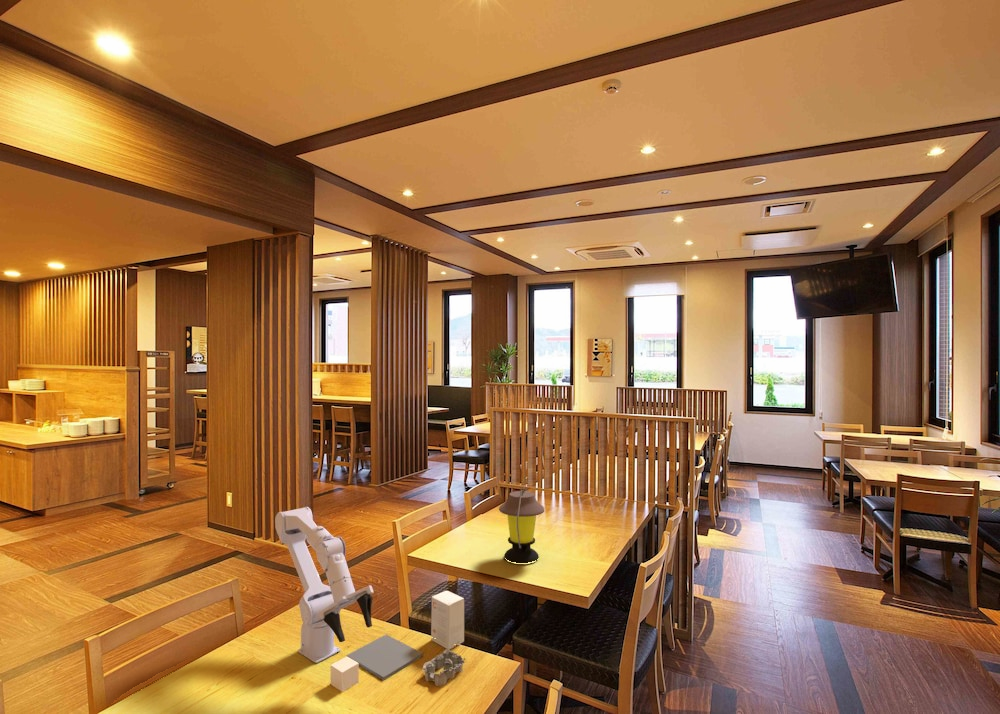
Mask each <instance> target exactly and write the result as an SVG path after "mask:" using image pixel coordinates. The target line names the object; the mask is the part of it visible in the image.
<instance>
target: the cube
mask: <svg viewBox="0 0 1000 714" xmlns="http://www.w3.org/2000/svg"><path fill="white" fill-rule="evenodd" d="M359 669H360V666H359V663H358V662H356V661H354V660H353V659H351V658H349V657H348V656H347V655H346V656H345V657H343V658H341V659H340V660H337V661H336V662H333V663H332V664H330V685H331V686H333V687H334V688H336V689H337V690H338V691H340V692H344V691H346V690H348V689H350V688H351V687H353V686H355V685H357V684H359V681H360V680H359V677H360V675H359V674H360V670H359Z"/></svg>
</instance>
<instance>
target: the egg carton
mask: <svg viewBox="0 0 1000 714" xmlns="http://www.w3.org/2000/svg"><path fill="white" fill-rule="evenodd" d="M465 661H466V658H463V657H462V656H461V655H459V654H458V653H455V652H454V651H451V649H450V650H449V649H448V648H447V649H446V648H445V649H444V651H442V653H439V655H436V656H435V657H434V658H432V659H431V660H429V661H426V662H424V664H423V667H422V669H421V671H423V672H424V677H425V681H426V682H431V681H433V682H434V685H435V686H436V687H439V685H440V686H445V685H447V684H446V683H447V682H448V680H450V678H451V679H452V680H453V679H454V678H455V675H456V674H457V673H460V672H461V673H462V672H463V670H464V669H463V666H464V664H465ZM442 668H443V670H441V671H440V672H439V673H435V672H436V671H435V670H436V669H439V670H440V669H442Z"/></svg>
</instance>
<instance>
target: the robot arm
mask: <svg viewBox="0 0 1000 714" xmlns="http://www.w3.org/2000/svg"><path fill="white" fill-rule="evenodd" d="M274 519H275V520H274V523H275V526H274V527H275V530H276V531H275V532H276V533H277V536H278V538H279V540H280V543H281V544H284V545H286V546H287V549H288V551H289V554H290V557H291V560H292V562H293V565H294V568H295V569H296V572H297V574H298V577H299V580H300V583H301V584H302V585H301V586H302V588H303V590H304V593H303V595H302V596H301V598H300V600H299V604H298V607H299V610H300V618H301V621H302V625H301V628H300V648H299V649H298V650H297V652H298V653H299V654H301V655H302V656H304V657H305V658H307V659H308V660H310V661H312V662H313V663H314V664H318V663H320V662H322V661H323V660H325V659H328V658H330V657H331V656H333V655H336V654H337V652H338V653H339V652H341V648H340V647H337V646H336V645H335V636H336V638H337V640H338V642H339V643H343V642H345V641H346V638H345V635H344V634H345V633H344V632H343V629H342V624H341V617H340V616H341V615H340V613H341V610H343V609H345V608H347V607H349V606H350V605H352V604H354V603H355V602H357V604H358V606H359V608H360V611H361V613H362V616H363V621H364V623H365V626H366V628H372V626H373V621H372V604H373V596H371V595H373V594H374V593H375V592H374V589H373V586H372V585H370V584H369V585H367V586H365V587H363V588H360V589H358V590H356V588H355V587H354V582H353V580H352V577H351V573H350V570H349V567H348V563H347V561H346V560H347V559H346V558H345V556H346V554H347V553H346V552H347V547H346V543H345V540H344V539H343V538H342V536H335V537H334V535H332V534H331V533H330V532H329V531H328V530H327V529H326V528H325V527H323V526H322V525H317V524H316V522H315V521H314V518H313V512H312V509H311V508H310V507H308V506H304V507H301V508H296V509H295V508H294V509H292V510H286V511H279V512H277V513H276V515H275V518H274ZM306 541H307V543H308V545H310V546H311V548H312V549H313V550H314V551H315V552H316V559H317V561H318V563H319V564H320V566H321V569H322V570H323V571H324V572H325V575H326V578H327V581H328V585H327V584H324V583H322V580H321V577H320V575H319V572H318V571H317V568H316V565H315V562H314V561H313V557H312V556H311V553H310V551H309V548H308V546H307V543H306Z"/></svg>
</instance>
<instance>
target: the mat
mask: <svg viewBox="0 0 1000 714" xmlns="http://www.w3.org/2000/svg"><path fill="white" fill-rule="evenodd" d="M347 656H348V657H349V658H351V659H353V660H354V661H356V662H358V663H359V667H360V668H362V669H364V670H366V671H367V672H369V673H371V674H372V675H374V676H376V677H378V678H379V679H380V680H383V681H385V680H387V679H388V678H390V677H392V676H393V675H395V674H397V673H398V672H400V671H401V670H403V669H405V668H407V667H408V666H410V665H411V664H413V663H414V662H416V661H417V660H419V659H421V658H422V657H424V653H423V652H422V651H419V650H417V649H415V648H414V647H412V646H410V645H408V644H406V643H404V642H401V641H400V640H397V639H396V638H394V637H392V636H390V635H388V634H384V635H382V636H380V637H378V638H376V639H375V640H373V641H371V642H369V643H368V644H364V645H363V646H361V647H360V648H357V649H356V650H354V651H352V652H349V653H348V654H347V655H346V657H347Z"/></svg>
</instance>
